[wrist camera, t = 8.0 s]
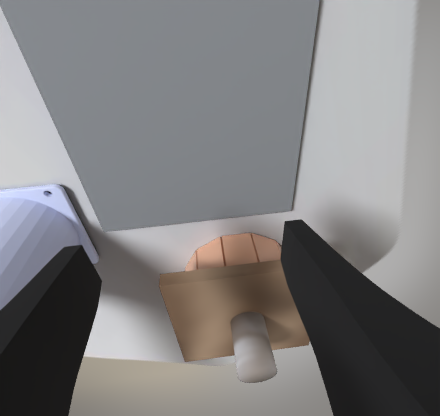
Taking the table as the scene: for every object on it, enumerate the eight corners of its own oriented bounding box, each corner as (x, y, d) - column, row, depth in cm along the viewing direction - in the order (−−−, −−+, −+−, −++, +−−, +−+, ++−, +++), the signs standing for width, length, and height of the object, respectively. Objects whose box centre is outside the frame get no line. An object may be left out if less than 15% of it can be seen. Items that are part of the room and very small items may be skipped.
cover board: (185, 351, 26) (185, 413, 22) (160, 274, 19) (153, 347, 15) (304, 334, 26) (325, 392, 22) (326, 253, 19) (363, 319, 15)
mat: (105, 227, 21) (103, 232, 21) (-4, -19, 12) (-12, -19, 11) (289, 206, 22) (291, 210, 21) (320, -42, 13) (325, -44, 12)
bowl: (193, 305, 29) (194, 346, 26) (179, 241, 23) (177, 284, 19) (282, 293, 30) (295, 333, 26) (291, 227, 23) (310, 267, 20)
